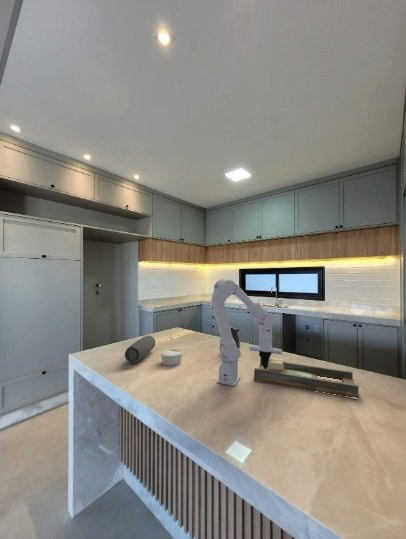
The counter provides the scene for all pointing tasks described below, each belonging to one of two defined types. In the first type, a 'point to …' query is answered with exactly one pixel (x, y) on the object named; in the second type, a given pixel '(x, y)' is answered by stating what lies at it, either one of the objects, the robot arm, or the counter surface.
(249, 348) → the robot arm
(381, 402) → the counter surface
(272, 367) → the maple block
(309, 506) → the counter surface
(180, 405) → the counter surface
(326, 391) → the walled deck
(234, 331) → the pump dispenser
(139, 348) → the bluetooth speaker
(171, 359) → the ramekin
